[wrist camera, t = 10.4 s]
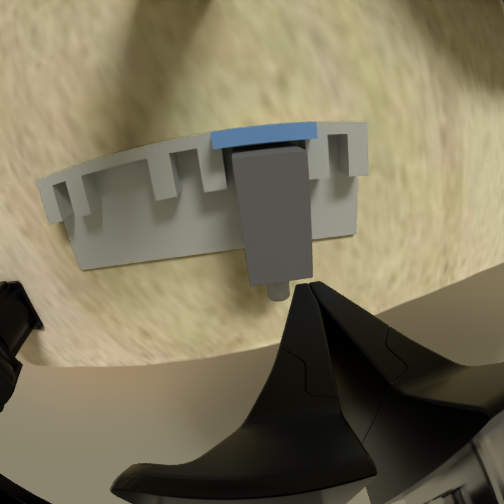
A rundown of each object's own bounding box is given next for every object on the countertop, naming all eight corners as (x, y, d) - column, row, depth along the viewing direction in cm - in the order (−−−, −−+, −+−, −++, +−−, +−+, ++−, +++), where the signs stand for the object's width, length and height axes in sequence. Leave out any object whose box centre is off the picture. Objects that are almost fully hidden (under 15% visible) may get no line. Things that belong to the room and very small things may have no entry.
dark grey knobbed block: (296, 271, 23) (312, 314, 18) (251, 278, 23) (255, 322, 18) (287, 141, 18) (307, 150, 13) (232, 148, 18) (231, 159, 13)
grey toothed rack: (354, 232, 22) (374, 253, 19) (82, 268, 22) (63, 292, 19) (353, 119, 18) (377, 121, 14) (51, 172, 18) (25, 184, 14)
